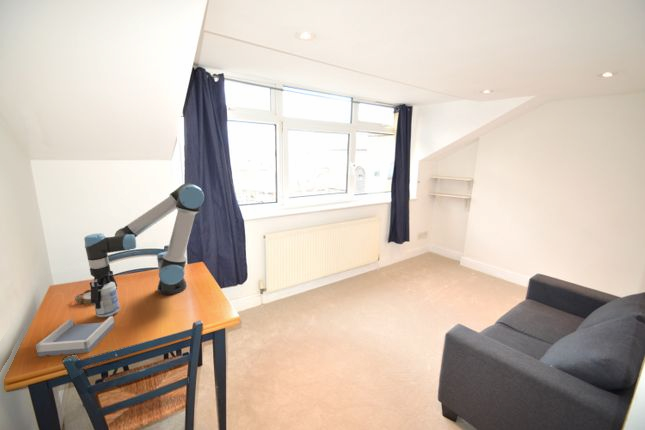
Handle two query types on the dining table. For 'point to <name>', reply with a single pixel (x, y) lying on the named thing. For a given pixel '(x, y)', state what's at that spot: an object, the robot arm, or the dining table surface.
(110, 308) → the supplement tub
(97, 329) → the dock
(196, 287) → the dining table surface
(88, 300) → the alarm clock
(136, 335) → the dining table surface
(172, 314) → the dining table surface
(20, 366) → the dining table surface
